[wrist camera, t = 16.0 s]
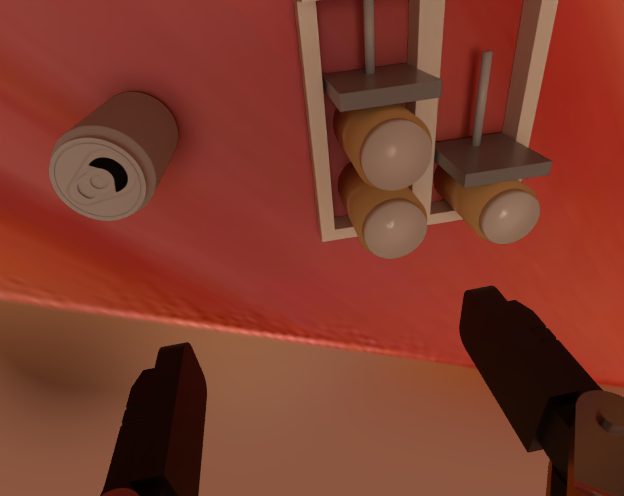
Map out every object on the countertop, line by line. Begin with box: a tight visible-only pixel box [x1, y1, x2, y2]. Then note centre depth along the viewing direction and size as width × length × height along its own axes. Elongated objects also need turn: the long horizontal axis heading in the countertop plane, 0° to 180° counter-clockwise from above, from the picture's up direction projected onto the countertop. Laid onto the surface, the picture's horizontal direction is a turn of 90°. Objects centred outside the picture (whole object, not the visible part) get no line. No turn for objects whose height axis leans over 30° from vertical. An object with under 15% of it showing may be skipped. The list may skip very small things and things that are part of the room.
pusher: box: [434, 51, 552, 188], centre depth 34 cm, size 9×7×8 cm
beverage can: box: [49, 92, 178, 221], centre depth 30 cm, size 6×6×12 cm
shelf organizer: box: [294, 0, 558, 242], centre depth 34 cm, size 23×21×8 cm
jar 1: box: [333, 104, 432, 191], centre depth 33 cm, size 6×6×10 cm
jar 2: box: [338, 162, 427, 259], centre depth 36 cm, size 6×6×10 cm
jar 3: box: [434, 165, 540, 244], centre depth 37 cm, size 6×6×10 cm
